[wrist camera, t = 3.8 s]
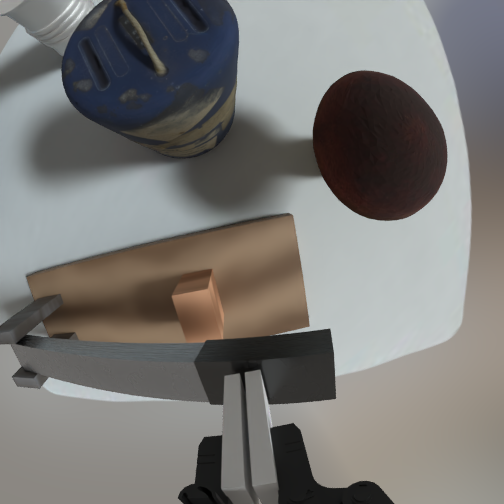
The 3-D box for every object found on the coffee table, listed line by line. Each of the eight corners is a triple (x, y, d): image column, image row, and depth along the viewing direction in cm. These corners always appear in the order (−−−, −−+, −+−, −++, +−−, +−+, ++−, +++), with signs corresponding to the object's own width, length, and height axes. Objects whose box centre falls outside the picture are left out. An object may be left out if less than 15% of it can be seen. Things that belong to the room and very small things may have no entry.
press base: (35, 272, 28) (-26, 306, 16) (288, 213, 28) (327, 231, 17) (67, 354, 30) (25, 406, 19) (305, 318, 31) (340, 382, 19)
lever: (18, 330, 20) (5, 340, 18) (330, 325, 14) (333, 349, 12) (32, 360, 21) (20, 370, 19) (333, 375, 15) (335, 401, 13)
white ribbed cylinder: (78, 20, 20) (23, -34, 6) (120, 18, 21) (71, -51, 7) (56, 63, 22) (-16, 21, 7) (96, 63, 23) (26, 7, 8)
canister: (154, 172, 26) (48, 157, 9) (135, 92, 24) (43, 10, 7) (246, 144, 26) (270, 75, 9) (222, 64, 24) (215, -58, 7)
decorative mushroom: (279, 202, 28) (328, 219, 13) (287, 99, 26) (336, 28, 11) (375, 213, 29) (471, 238, 14) (380, 119, 27) (473, 86, 12)
